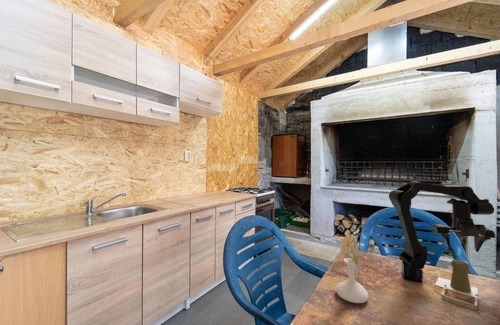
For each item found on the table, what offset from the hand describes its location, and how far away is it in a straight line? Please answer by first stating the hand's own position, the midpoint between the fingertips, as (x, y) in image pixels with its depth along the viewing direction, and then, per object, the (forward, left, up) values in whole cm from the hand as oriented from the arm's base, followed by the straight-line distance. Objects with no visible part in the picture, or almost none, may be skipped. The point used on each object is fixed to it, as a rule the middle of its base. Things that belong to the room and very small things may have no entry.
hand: (462, 250), depth 92 cm
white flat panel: (-5, -8, -13) cm, 16 cm away
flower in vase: (-45, -31, -13) cm, 56 cm away
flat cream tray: (-8, -17, -13) cm, 23 cm away
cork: (-4, -9, -13) cm, 16 cm away
